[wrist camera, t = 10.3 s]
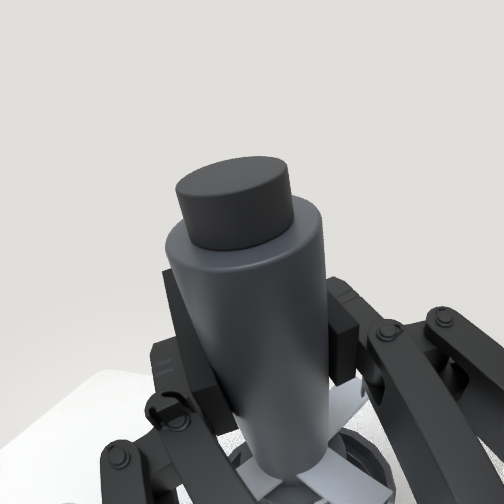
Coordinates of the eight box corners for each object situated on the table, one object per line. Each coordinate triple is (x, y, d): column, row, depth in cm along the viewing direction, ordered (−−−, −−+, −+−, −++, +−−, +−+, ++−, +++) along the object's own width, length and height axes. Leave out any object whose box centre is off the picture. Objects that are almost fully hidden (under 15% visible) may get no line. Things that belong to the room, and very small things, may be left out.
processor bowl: (339, 422, 30) (341, 396, 27) (410, 527, 17) (428, 518, 15) (207, 475, 27) (189, 456, 24) (256, 596, 14) (243, 601, 12)
